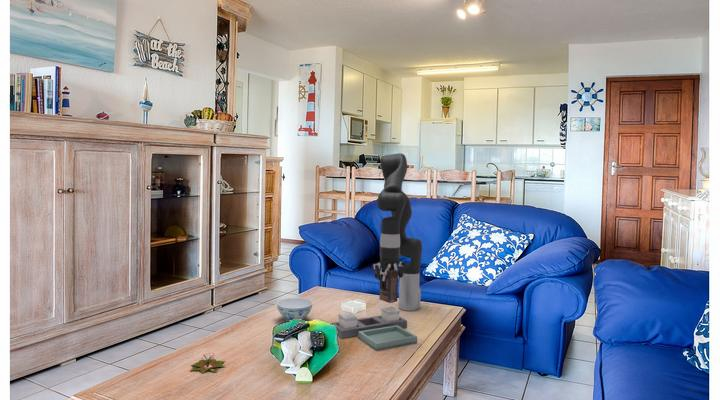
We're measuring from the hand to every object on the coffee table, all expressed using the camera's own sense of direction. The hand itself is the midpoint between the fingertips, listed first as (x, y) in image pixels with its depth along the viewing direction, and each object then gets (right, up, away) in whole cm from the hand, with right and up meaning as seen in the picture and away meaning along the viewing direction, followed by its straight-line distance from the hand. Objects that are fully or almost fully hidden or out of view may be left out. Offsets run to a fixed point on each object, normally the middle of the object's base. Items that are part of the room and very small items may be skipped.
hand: (388, 289), depth 183 cm
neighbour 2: (+2, -19, +18) cm, 26 cm away
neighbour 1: (-16, -19, +9) cm, 26 cm away
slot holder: (-7, -19, +14) cm, 24 cm away
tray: (-1, -20, +1) cm, 20 cm away
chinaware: (-39, -18, +21) cm, 48 cm away
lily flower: (-61, -21, -26) cm, 69 cm away
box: (0, -5, 0) cm, 5 cm away
